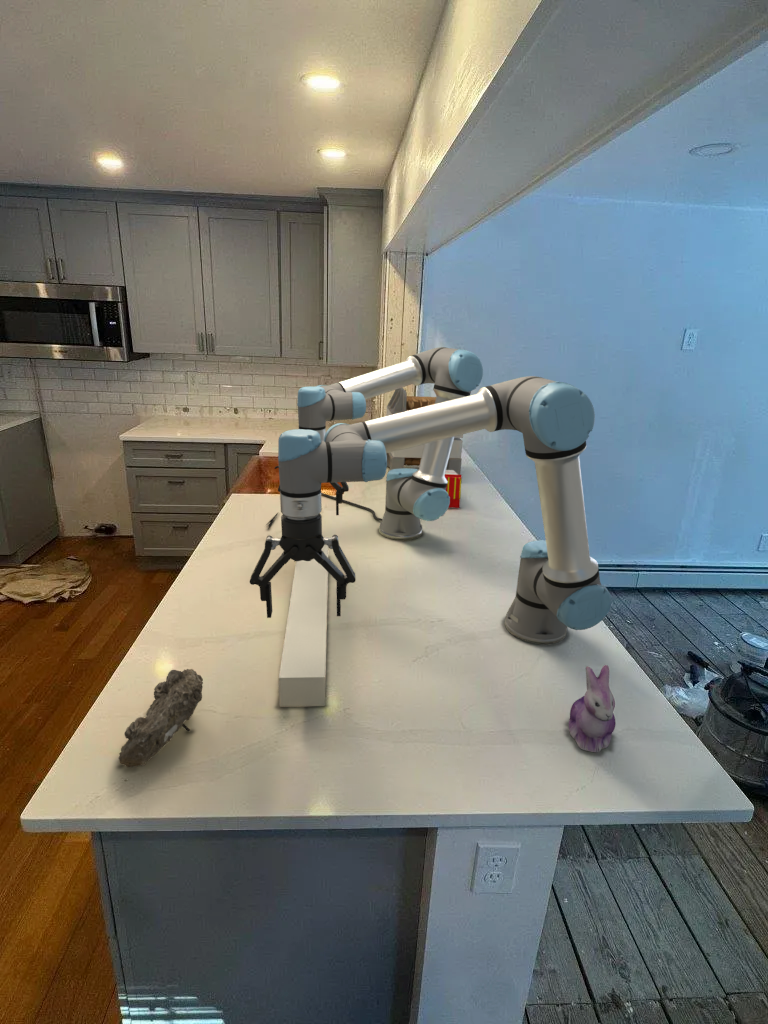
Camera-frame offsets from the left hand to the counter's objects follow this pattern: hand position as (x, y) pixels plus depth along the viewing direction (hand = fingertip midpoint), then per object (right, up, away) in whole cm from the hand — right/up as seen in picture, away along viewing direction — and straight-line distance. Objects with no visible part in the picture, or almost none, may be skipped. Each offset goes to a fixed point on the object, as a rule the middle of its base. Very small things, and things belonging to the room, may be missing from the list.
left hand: (314, 513), depth 167 cm
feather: (-20, -1, +44) cm, 48 cm away
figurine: (+60, -42, -59) cm, 94 cm away
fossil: (-19, -40, -62) cm, 76 cm away
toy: (+46, +7, +74) cm, 88 cm away
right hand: (+5, -20, -54) cm, 58 cm away
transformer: (+38, +19, +108) cm, 116 cm away
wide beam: (+1, -26, -21) cm, 33 cm away
